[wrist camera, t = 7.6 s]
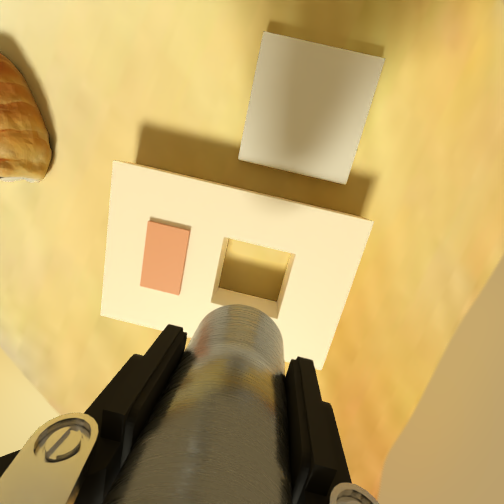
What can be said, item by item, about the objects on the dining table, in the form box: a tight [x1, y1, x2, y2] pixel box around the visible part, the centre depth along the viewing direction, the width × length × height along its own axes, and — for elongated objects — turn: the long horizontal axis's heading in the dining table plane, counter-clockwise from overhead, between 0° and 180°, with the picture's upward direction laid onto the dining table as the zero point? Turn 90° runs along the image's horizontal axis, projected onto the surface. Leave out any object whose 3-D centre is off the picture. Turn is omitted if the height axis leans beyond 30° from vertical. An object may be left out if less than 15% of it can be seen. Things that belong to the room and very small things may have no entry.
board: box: [101, 160, 374, 370], centre depth 21 cm, size 12×18×3 cm, turn 77°
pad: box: [238, 31, 385, 184], centre depth 18 cm, size 8×8×1 cm
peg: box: [102, 304, 293, 504], centre depth 8 cm, size 4×4×8 cm
